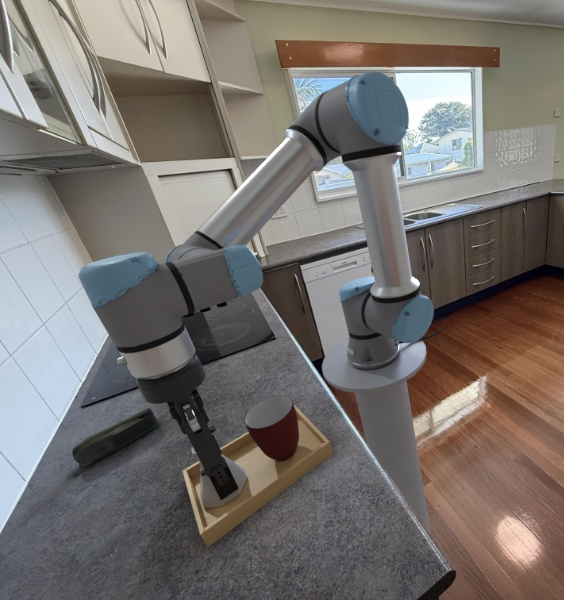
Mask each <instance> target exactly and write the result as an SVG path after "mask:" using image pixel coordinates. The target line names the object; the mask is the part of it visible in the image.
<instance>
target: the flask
mask: <svg viewBox="0 0 564 600" xmlns="http://www.w3.org/2000/svg"><path fill="white" fill-rule="evenodd" d="M190 450H191V455H192V456H194V457H196V458H197V461H199V464H200V471H202V470H204V467H203V465H202V463H201V461H200V459H199V457H198V455H197V453H196V452H195V450H194V448H193V446H192V447H191V449H190ZM221 455H222V454H221ZM222 457H224V458H225V460H226V462H227V465H228V467H229V469H230V471H231V473H232V475H233V477H234V479H235V481H236V483H237V485H238V488H239V489H237V490H236V491H235V492H233V493H232V494H230V495H229V496H227V497H226V498H224V499H223V500H221V499H220V497H219V495H218V494H217V492H216V490H215V488H214V486H213V484H212V482H211V480H210V478H209V477H208V476H207V475H205V476H203V477H202V476H201V489H200V494H201V500H202V504H203V508H204V509H206V508H212V507H218V506H222V505H224V504H225V503H227V502H228V501H230V500H231V499H233V498H234V497H236V496H237V495H239V494H240V493H241V491H242V488H243V486H244V484H245V481H246V479H247V476H246V474H245V472H244V470H243V467H241V466H240V465H238V464H236V463H235V462H233V461H231V460H230V459H228V458H227V457H225V456H224V455H222ZM200 474H201V473H200Z"/></svg>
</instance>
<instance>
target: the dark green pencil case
mask: <svg viewBox="0 0 564 600" xmlns="http://www.w3.org/2000/svg"><path fill="white" fill-rule="evenodd" d="M158 425H159V422H158V419H157V418H156V416H155V414H154V412H153V410H152V408H150V407H148V408H144V409H143V410H141V411H139V412H136V413H135V414H133V415H131V416H129V417H126V418H125V419H122V420H120V421H119V422H117V423H115V424H112V425H111V426H108V427H105V428H104V429H102V430H99V431H97V432H95V433H93V434H90V435H89V436H87V437H86V438H85V439H83V440H82V441H80V442H79V443H78V444H76V445H75V446H74V447H73V449H72V450H71V451H72V452H71V454H72V458H73V459H74V460H75V461H76V462H77V464H78V466H77V467H76V468H75V469H73V470H72V471H70V473H71V475H74V474H76V473H78V472H79V471H81V470H83V469H85V468H86V467H88V466H90V465H91V464H93V463H95V462H97V461H99V460H100V459H103V458H104V457H106V456H108V455H110V454H111V453H114V451H117V450H118V449H121V448H122V447H124V446H126V445H128V444H130V443H132V442H134V441H135V440H137V439H139V438H141V437H142V436H145V435H146V434H148V433H150V432H151V431H153V430H154V429H156V427H158Z"/></svg>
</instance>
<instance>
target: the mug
mask: <svg viewBox="0 0 564 600" xmlns="http://www.w3.org/2000/svg"><path fill="white" fill-rule="evenodd" d="M294 405H295V404H294V402H293V399H292V398H291V397H289V396H288V395H283V394H282V395H281V394H279V395H273V396H269V397H266V398H265V399H262V400H260V401H259V402H257V403H256V404H254V405H253V406H252V407H251V408H250V409H249V410H248V411H247V413H246V415H245V417H244V425H245V427H246V429H247V432H249V434H250V436H251V437H252V439H253V440H254V441H255V443H256V444H257V445H258V447H259V448H260V449H261V450H262V452H263V453H264V454H265V455H266V456H268V457H269V458H271V459H274V460H276V461H285V460H288V459H289V458H291V457H292V456H293V455H294V453H295V451H296V449H297V445H298V441H299V428H298V420H297V413H296V409H295V407H294Z"/></svg>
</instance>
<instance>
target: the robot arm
mask: <svg viewBox="0 0 564 600" xmlns="http://www.w3.org/2000/svg"><path fill="white" fill-rule="evenodd" d="M408 107H409V106H408V104H407V100H406V99H405V96H404V94H403V92H402V91H401V89H400V88H399V86H398V85H396V84H395V82H394V80H393V79H392V78H391V77H390V76H388V75H387V74H385V73H383V72H380V71H377V70H376V71H375V70H371V71H366V72H364V73H362V74H356V75H353V76H351V77H350V78H349V79H348V80H346V81H344V82H342V83H340V84H338V85H336V86H334V87H332V88H330V89H328V90H326V91H323V92H322V93H320V94H319V95H318V96H316V97H315V98H313V100H312V101H311V102H310V103H309V105H308V106H306V108H305V109H304V110H303V111H302V112H301V114H299V115H298V117H297V118H296V119H295V120H294V122H292V124H291V125H289V127H288V128H287V129H285V131H284V133H283V136H282V137H283V141H282V143H281V144H279V146H277V148H276V149H274V151H273V152H272V153H270V155H269V156H267V157H266V159H265V160H264V161H262V163H261V164H260V165H259V166H258V167H257V168H256V169H255V170H253V172H252V173H251V174H250V175H249V176H248V177H247V178H246V179H245V180H244V181H243V182H242V183H241V184H240V185H239V186H238V187H237V188H236V189H235V190H234V192H232V193H231V194H230V196H228V198H226V200H225V201H224V202H223V203H221V205H220V206H219V207H217V209H216V210H214V212H213V213H212V214H211V215H210V216H208V218H207V219H205V221H204V222H203V223H202V224H201V225H200V226H199V227H198V228H197V229H196V230H195V231H194V232H193V233H192V234H191V235H190V236H189V237H188V238H187V239H186V240H185V241H184V242H183V243H182V244H179V245H176V246H174V247H173V248H171V249H170V250H169V251H168V252H167V254H166V255H165V259H164V262H158V261H157V260H155V257H154V256H153V255H152V254H151V253H150V252H147V251H138V252H131V253H127V254H119V255H115V256H111V257H106V258H102V259H98V260H96V261H92V262H90V263H88V264H85V265H84V266H82V268H80V270H79V273H78V279H79V282H80V283H81V285H82V288H83V290H84V292H85V294H86V296H87V298H88V300H89V302H90V305H91V307H92V308H93V310H94V312H95V314H96V315H97V317H98V319H99V321H100V322H101V324H102V326H103V327H104V329H105V331H106V333H107V334H108V336H109V338H110V339H111V342H113V344H114V346H115V348H116V349H117V351H118V352H119V354H120V356H119V357H118V358H117V359H116V363H117V364H118V365H125V364H127V365H126V367H127V369H128V371H129V372H130V374H131V376H132V377H133V378H135V384H136V387H138V389H139V392H140V393H141V396H142V397H143V398H144V400H145V401H146V402H147V403H150V404H153V405H161V404H165V403H166V405H167V406H168V411H169V413H170V415H171V417H172V419H173V420H175V421H176V422H177V424H178V427H179V428H180V431H181V433H182V434H183V435H186V436H187V438H188V440H189V442H190V443H191V444H190V445H191V446H192V447H193V448H194V450H195V452H196V453H197V455H198V457H199V459H200V461H201V463H202V465H203V467H204V470H202V471H200V473H201V476H202V477H203V476H205V475H207V476H208V477H209V478H210V480H211V482H212V484H213V486H214V488H215V490H216V492H217V494H218V495H219V497H220V499H221V500H223V499H224V498H226V497H227V496H229V495H230V494H232V493H233V492H235V491H236V490H237V489H239V488H238V485H237V483H236V481H235V479H234V477H233V475H232V473H231V471H230V469H229V467H228V465H227V462H226V460H225V458H224V457H222V455H223V454H222V452H221V449H220V448H221V447H220V445H219V443H218V440H217V439H216V437H215V434H214V433H215V432H217V429H216V427H215V425H211V426H210V427H209V425H208V423H209V422H210V418H209V416H208V413H207V411H206V410H205V408H204V405H205V403H204V401H203V398H202V397H201V394H200V393H199V391H198V388H199V387H200V386H201V385H202V383H204V381H205V378H206V371H205V369H204V367H203V365H202V362H201V360H200V358H199V356H198V355H197V354H196V348H195V346H194V344H193V342H192V339H191V337H190V334H189V332H188V331H187V327H186V326H185V324H184V322H183V320H182V317H184V316H187V315H190V314H191V315H192V314H193V313H196V312H199V311H203V310H205V309H208V308H212V307H214V306H217V305H220V304H223V303H226V302H229V301H233V300H235V299H239V298H244V297H245V296H246V295H249V294H252V293H253V292H256V291H258V290H259V289H260V288H261V287H262V285H263V281H264V277H263V276H264V274H263V271H262V267H261V265H260V262H259V260H258V258H257V256H256V254H255V252H254V251H253V250H252V249H251V248H250V247H249V246H248V244H249V243H251V241H252V240H253V239H254V238H255V237H256V236H257V234H258V233H259V232H260V231H261V230H262V229H263V228H264V227H265V226H266V224H267V223H268V222H269V221H270V220H271V219H272V218H273V217H274V215H275V214H276V213H278V211H279V210H280V209H281V208H282V206H284V204H285V203H286V202H287V201H288V200H289V199H290V198H291V196H293V195H294V193H295V192H296V191H297V190H298V189H299V188H300V186H302V185H303V183H304V182H305V181H306V180H307V179H308V177H310V176H311V174H312V173H313V172H314V173H315V172H317V173H318V172H321V171H322V170H323V169H324V168H325V167H326V166H327V164H329V163H330V162H331V161H333V160H335V159H337V158H340V157H341V162H342V165H343V166H345V167H346V168H347V169H348V170H349V171H351V173H352V177H353V181H354V186H355V191H356V195H357V196H356V197H357V200H358V204H359V205H358V206H359V210H360V214H361V219H362V225H363V230H364V235H365V239H366V245H367V250H368V254H369V258H370V264H371V268H372V274H373V275H372V276H371V275H370V276H365V277H364V276H363V277H361V278H360V277H359V278H356V279H354V280H351V281H349V282H346V283H345V284H344V285H343V284H342V286H341V287H340V288H339V302H340V303H341V309H342V311H343V315H344V316H343V317H344V320H345V325H346V328H347V333H348V338H349V343H348V346H347V357H348V362H349V364H350V365H351V366H352V367H354V368H356V369H359V370H376V369H380V368H383V367H385V366H388V365H389V364H391V363H393V362H394V361H395V360H396V359H397V358H398V356H399V354H400V348H399V344H401V343H413V342H416V341H419V340H422V341H423V340H427V339H430V338H433V337H435V336H437V335H438V334H440V333H441V332H442V331H444V330H445V329H446V328H447V326H446V325H444V326H442V327H441V328H440V329H438V330H437V331H436V332H434V333H432V334H429V335H426V333H427V332H428V330H429V329H430V327H431V325H432V321H433V319H434V313H435V312H434V311H435V308H434V304H433V303H434V302H433V301H432V299H431V298H429V297H428V296H427V295H424V294H422V290H421V283H420V280H418V279H417V278H416V277H415V276H413V274H412V267H411V262H410V255H409V249H408V242H407V235H406V229H405V222H404V215H403V208H402V202H401V197H400V196H401V195H400V189H399V182H398V176H397V168H396V163H397V161H398V160H399V158H400V157H401V156H402V151H401V150H402V149H401V142H402V141H403V139H404V138H405V137H406V135H407V133H408V131H407V130H408V129H409V125H410V112H409V108H408ZM425 335H426V336H425ZM221 454H222V455H221Z"/></svg>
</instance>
